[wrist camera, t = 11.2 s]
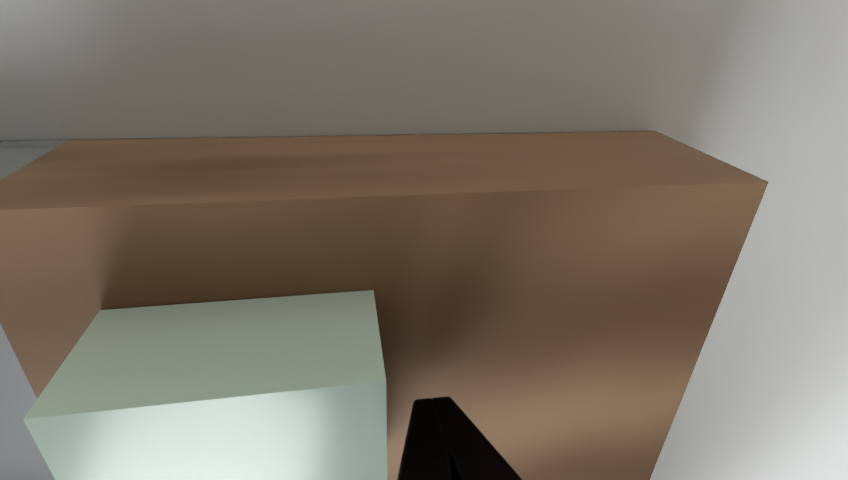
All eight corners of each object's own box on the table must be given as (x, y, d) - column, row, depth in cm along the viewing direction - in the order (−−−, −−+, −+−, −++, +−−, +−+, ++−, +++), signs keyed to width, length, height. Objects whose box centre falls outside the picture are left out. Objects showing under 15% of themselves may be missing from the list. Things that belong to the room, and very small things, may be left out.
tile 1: (377, 455, 12) (388, 561, 10) (163, 483, 11) (122, 605, 9) (373, 290, 9) (385, 380, 7) (100, 309, 9) (23, 418, 6)
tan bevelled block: (546, 541, 23) (584, 640, 19) (217, 596, 20) (194, 722, 17) (654, 131, 13) (768, 182, 10) (68, 139, 11) (-55, 212, 7)
